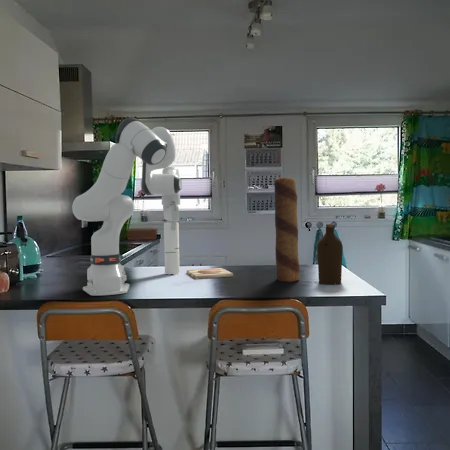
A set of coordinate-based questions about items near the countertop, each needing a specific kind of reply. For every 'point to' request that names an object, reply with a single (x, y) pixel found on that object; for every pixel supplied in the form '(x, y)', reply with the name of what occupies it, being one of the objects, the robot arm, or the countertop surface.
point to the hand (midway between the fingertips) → (171, 229)
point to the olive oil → (329, 257)
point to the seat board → (209, 273)
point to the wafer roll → (286, 230)
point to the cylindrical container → (171, 249)
